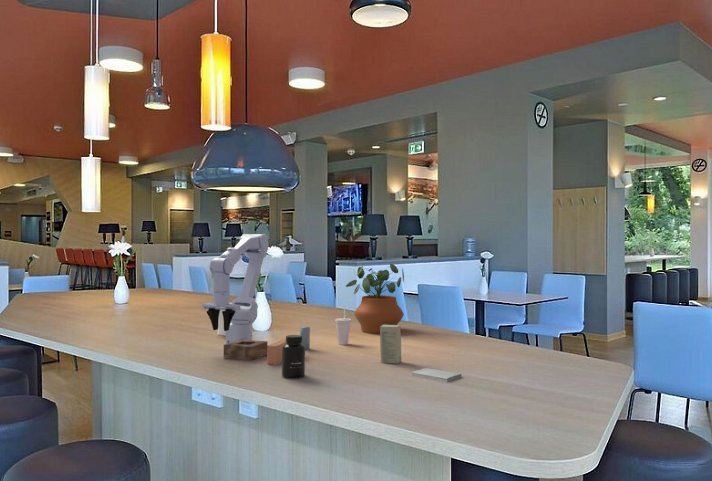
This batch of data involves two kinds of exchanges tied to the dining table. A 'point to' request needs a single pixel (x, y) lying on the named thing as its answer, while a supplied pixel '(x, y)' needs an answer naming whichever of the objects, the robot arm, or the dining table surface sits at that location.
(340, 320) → the smoothie
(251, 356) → the pocket block
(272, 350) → the block
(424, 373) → the hard drive
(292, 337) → the supplement bottle
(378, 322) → the potted plant
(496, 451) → the dining table surface
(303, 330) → the dowel
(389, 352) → the skincare box
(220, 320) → the foam cup
